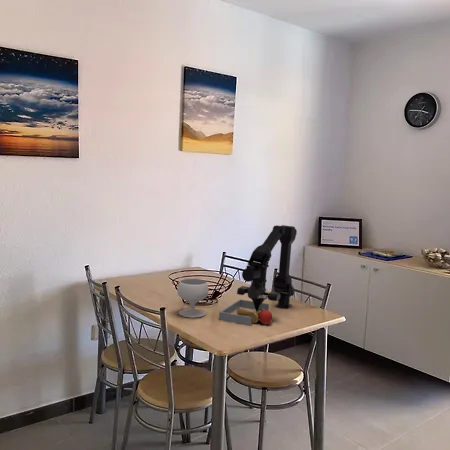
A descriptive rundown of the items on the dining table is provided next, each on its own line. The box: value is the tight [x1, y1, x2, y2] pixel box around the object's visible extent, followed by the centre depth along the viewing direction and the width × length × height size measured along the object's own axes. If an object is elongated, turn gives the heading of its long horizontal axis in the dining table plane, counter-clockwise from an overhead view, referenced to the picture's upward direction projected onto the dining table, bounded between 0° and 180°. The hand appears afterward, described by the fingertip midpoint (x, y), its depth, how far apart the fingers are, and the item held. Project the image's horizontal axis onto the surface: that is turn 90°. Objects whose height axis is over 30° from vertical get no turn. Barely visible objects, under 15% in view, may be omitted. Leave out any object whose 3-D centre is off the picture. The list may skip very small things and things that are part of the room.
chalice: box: [176, 277, 210, 319], centre depth 207 cm, size 14×14×15 cm
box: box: [218, 298, 270, 327], centre depth 209 cm, size 24×15×4 cm, turn 156°
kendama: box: [236, 308, 274, 325], centre depth 203 cm, size 8×6×18 cm
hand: (257, 312), depth 206 cm, fingers closed
